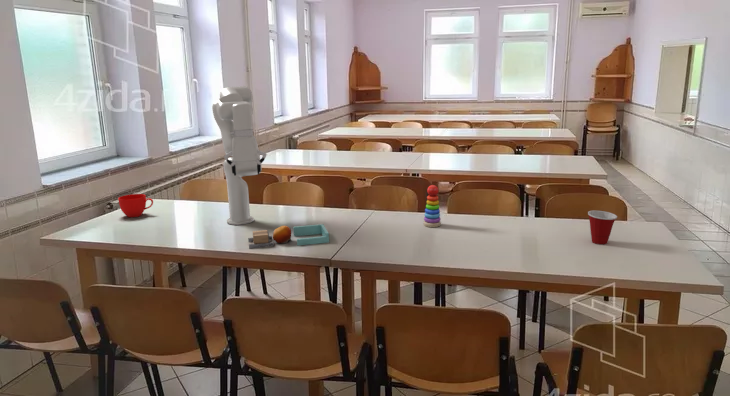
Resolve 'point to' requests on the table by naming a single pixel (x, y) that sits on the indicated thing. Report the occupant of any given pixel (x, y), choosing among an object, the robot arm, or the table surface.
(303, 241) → the teal u-shaped frame
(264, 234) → the block
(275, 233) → the fruit
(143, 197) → the ceramic cup
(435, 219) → the stacking toy
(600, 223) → the plastic cup
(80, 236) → the table surface
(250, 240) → the launcher track
